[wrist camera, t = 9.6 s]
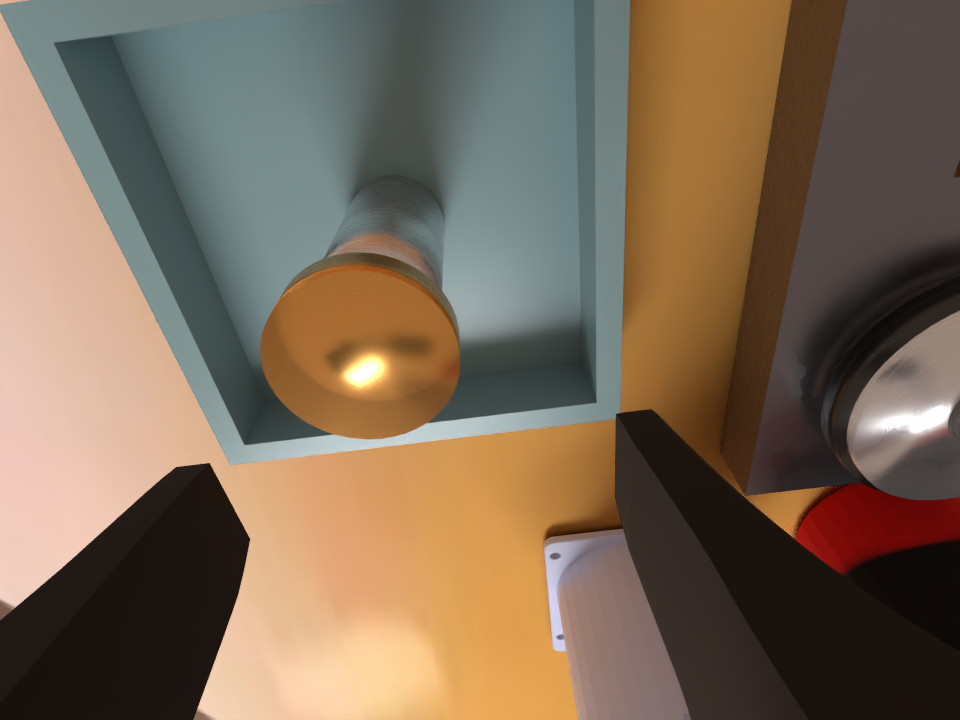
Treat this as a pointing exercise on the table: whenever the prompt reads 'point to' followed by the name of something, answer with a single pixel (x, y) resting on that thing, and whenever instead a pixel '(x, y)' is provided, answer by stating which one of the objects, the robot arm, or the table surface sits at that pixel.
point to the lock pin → (369, 320)
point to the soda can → (893, 552)
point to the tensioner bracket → (856, 260)
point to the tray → (357, 181)
